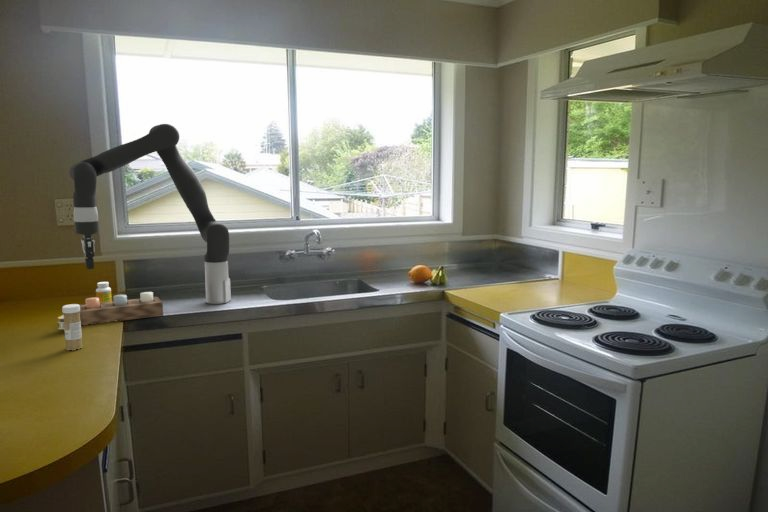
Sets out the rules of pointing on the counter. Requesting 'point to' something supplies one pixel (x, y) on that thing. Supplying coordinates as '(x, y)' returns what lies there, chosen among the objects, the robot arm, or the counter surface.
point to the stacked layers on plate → (61, 322)
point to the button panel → (121, 311)
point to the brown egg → (92, 303)
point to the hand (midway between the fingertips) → (89, 267)
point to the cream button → (146, 297)
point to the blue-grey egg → (120, 300)
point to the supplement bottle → (103, 292)
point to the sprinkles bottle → (72, 326)
